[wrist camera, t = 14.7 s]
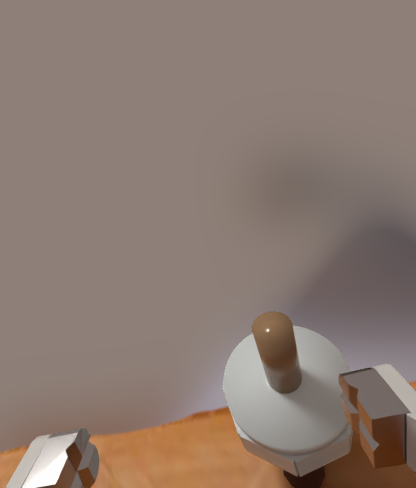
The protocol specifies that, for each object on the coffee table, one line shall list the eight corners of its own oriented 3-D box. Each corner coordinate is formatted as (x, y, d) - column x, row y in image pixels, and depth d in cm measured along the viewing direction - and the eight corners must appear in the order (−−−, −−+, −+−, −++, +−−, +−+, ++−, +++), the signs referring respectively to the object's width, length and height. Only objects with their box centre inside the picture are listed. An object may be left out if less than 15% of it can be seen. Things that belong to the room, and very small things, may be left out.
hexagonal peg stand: (261, 495, 29) (227, 435, 21) (220, 373, 41) (189, 307, 34) (385, 435, 30) (396, 357, 22) (309, 334, 42) (298, 260, 35)
